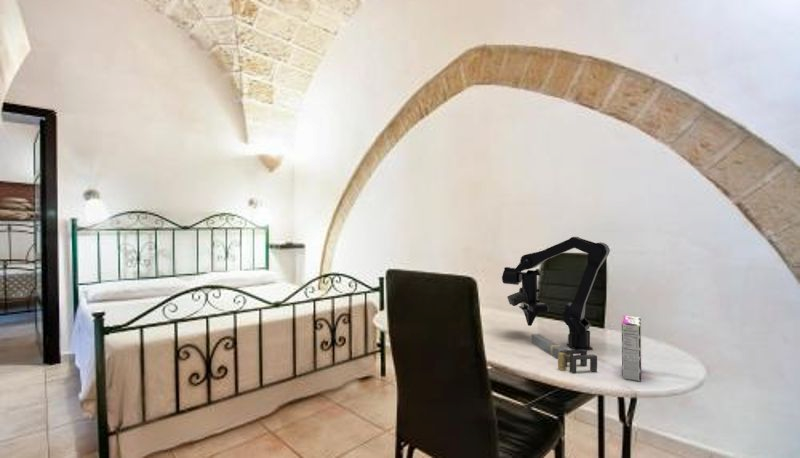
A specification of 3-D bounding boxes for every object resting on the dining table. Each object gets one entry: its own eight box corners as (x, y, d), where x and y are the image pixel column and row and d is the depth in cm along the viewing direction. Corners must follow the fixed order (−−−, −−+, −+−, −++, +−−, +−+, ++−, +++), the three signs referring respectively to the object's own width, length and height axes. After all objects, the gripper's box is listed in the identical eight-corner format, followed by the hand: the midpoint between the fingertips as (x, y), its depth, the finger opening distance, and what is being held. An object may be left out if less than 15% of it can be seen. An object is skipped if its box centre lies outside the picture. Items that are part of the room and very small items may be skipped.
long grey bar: (531, 342, 149) (531, 334, 149) (539, 342, 149) (539, 334, 149) (563, 362, 127) (563, 353, 127) (572, 362, 127) (572, 352, 127)
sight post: (568, 368, 122) (568, 352, 122) (571, 369, 121) (571, 353, 121) (558, 368, 122) (558, 352, 122) (560, 370, 120) (561, 354, 120)
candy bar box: (622, 366, 123) (622, 314, 123) (641, 370, 121) (641, 316, 120) (620, 378, 114) (621, 322, 114) (641, 382, 111) (641, 324, 111)
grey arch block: (583, 364, 126) (583, 349, 126) (586, 365, 124) (586, 350, 124) (560, 365, 124) (560, 350, 124) (563, 367, 123) (563, 352, 123)
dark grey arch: (593, 369, 121) (593, 354, 121) (597, 371, 119) (597, 356, 119) (569, 371, 120) (569, 355, 119) (572, 373, 118) (572, 357, 118)
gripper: (500, 283, 162) (500, 320, 162) (520, 290, 143) (520, 332, 143) (525, 282, 163) (525, 319, 163) (549, 289, 145) (549, 331, 145)
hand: (529, 325), depth 154 cm, fingers closed
